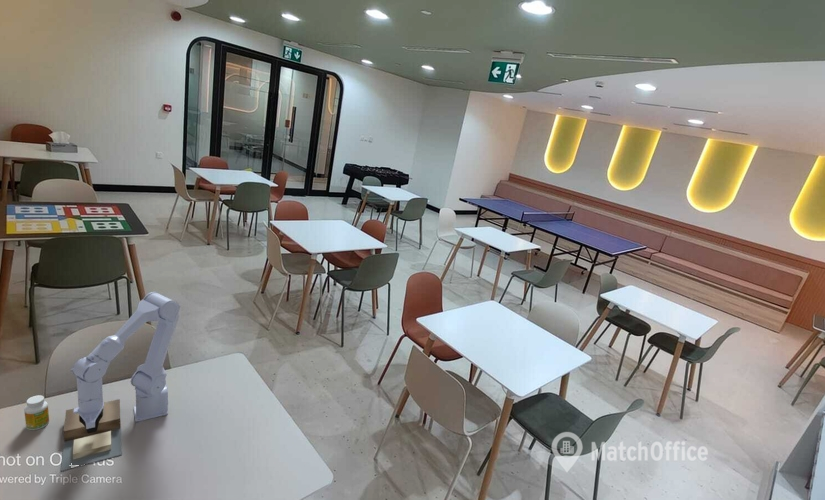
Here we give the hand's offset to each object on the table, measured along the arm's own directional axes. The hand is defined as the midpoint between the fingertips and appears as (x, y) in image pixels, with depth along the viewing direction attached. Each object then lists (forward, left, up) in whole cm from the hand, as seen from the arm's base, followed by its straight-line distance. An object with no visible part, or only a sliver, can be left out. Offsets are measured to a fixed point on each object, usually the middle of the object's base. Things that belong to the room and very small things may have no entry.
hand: (92, 431), depth 121 cm
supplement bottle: (+14, -15, -5) cm, 21 cm away
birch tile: (0, +2, -3) cm, 3 cm away
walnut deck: (0, -9, -5) cm, 10 cm away
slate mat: (0, +2, -5) cm, 5 cm away
